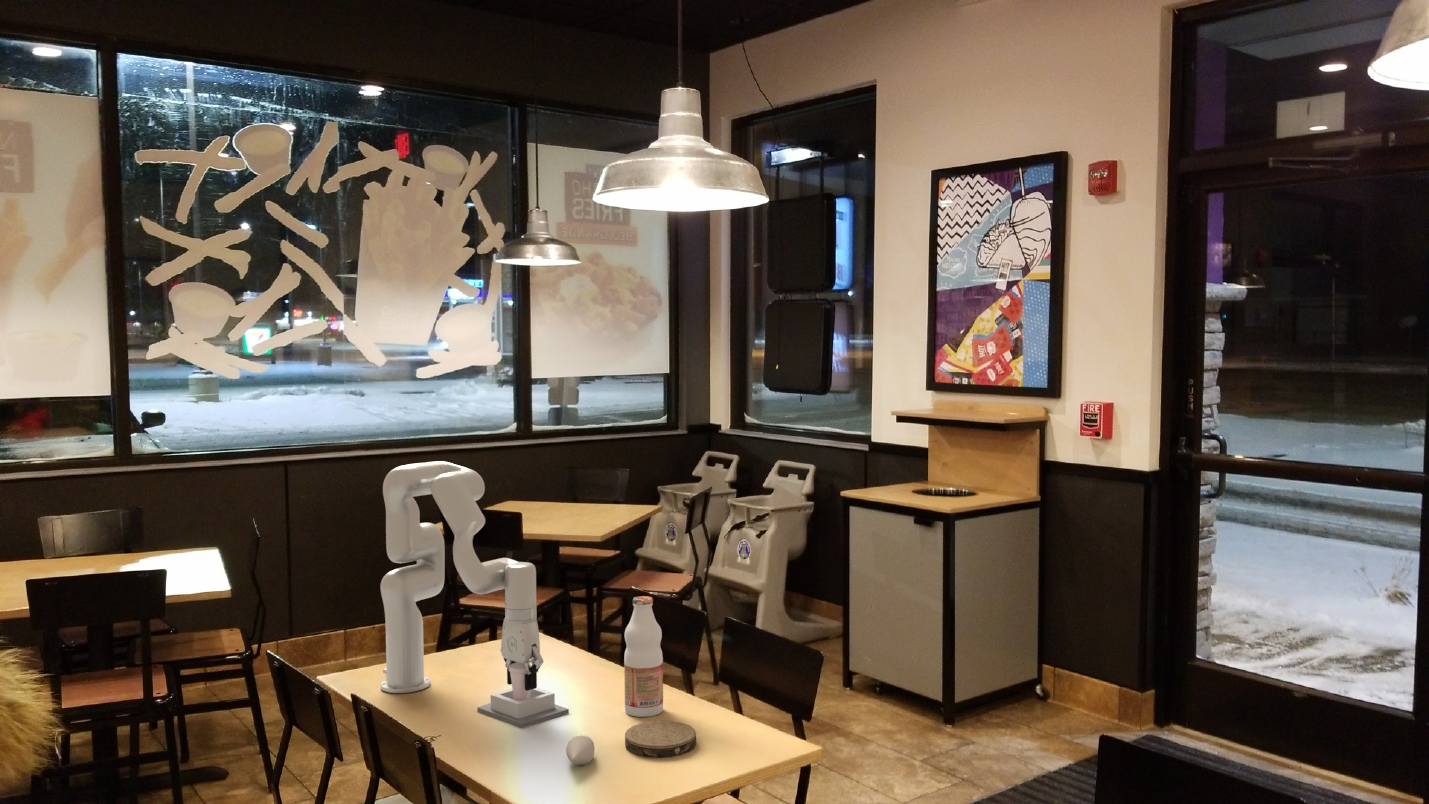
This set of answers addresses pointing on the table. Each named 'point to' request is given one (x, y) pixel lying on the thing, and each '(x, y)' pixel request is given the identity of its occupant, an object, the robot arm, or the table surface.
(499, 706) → the cup holder
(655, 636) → the fruit juice
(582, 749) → the beige pointed round piece
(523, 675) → the smoothie
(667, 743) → the brown flat round piece
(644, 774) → the table surface
